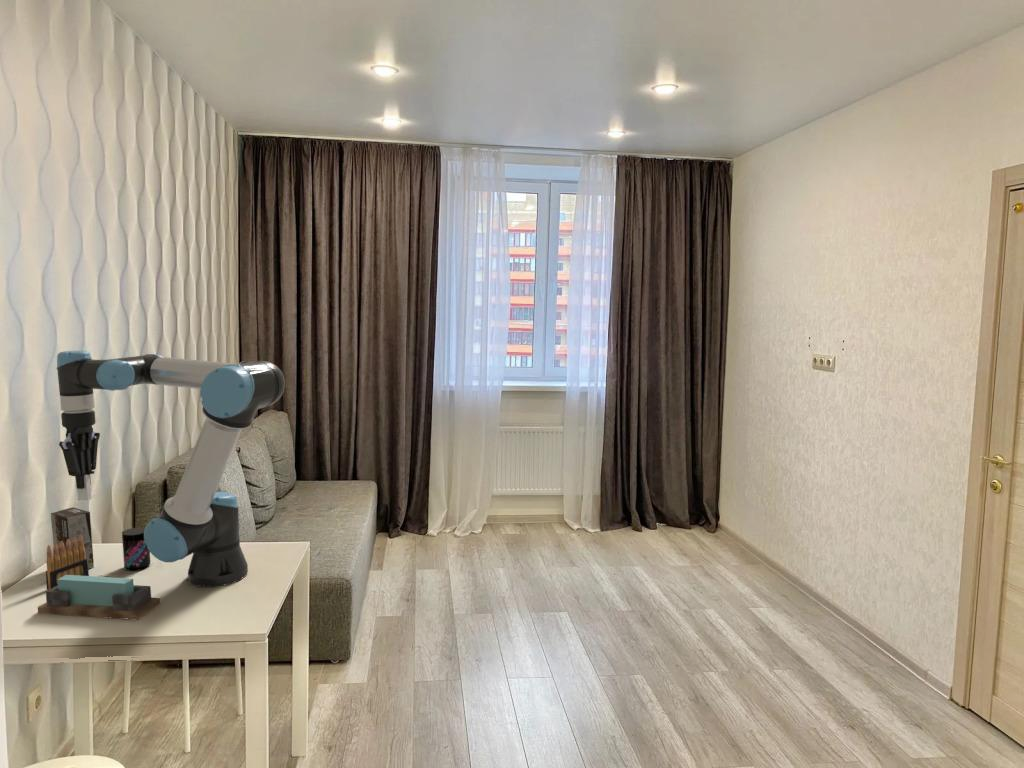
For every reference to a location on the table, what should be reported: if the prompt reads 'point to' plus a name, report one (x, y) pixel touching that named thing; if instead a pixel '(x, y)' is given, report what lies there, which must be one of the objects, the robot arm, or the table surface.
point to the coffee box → (73, 530)
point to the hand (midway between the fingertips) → (84, 499)
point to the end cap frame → (122, 606)
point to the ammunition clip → (66, 561)
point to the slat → (94, 589)
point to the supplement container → (135, 549)
